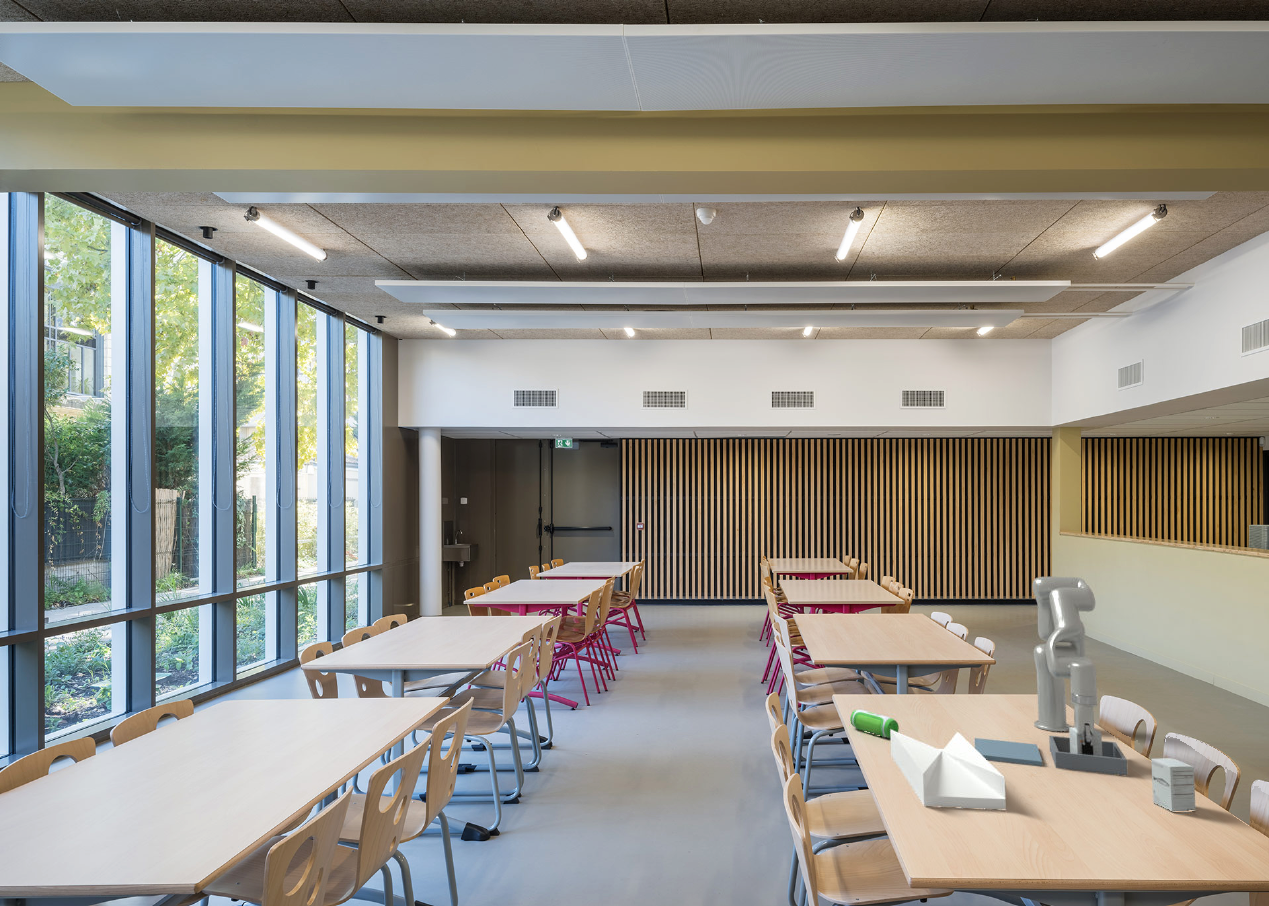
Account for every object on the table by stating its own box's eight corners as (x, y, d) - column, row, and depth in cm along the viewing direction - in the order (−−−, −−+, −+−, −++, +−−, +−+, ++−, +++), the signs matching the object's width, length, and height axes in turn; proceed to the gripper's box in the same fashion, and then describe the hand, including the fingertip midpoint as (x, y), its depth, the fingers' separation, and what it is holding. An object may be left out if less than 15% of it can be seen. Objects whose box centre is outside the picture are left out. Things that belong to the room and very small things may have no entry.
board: (974, 742, 280) (974, 737, 280) (1036, 748, 273) (1036, 744, 273) (975, 758, 262) (975, 754, 262) (1042, 766, 254) (1042, 761, 254)
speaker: (900, 738, 286) (899, 717, 286) (887, 741, 282) (886, 720, 282) (862, 726, 301) (862, 707, 301) (849, 729, 297) (849, 709, 297)
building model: (891, 757, 265) (890, 729, 265) (958, 760, 262) (957, 731, 263) (924, 808, 220) (923, 773, 221) (1005, 811, 217) (1004, 777, 218)
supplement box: (1152, 803, 223) (1150, 758, 223) (1176, 802, 223) (1174, 757, 224) (1171, 813, 215) (1169, 766, 216) (1196, 812, 216) (1194, 765, 217)
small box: (1094, 759, 261) (1093, 727, 261) (1103, 764, 255) (1102, 732, 256) (1069, 758, 261) (1068, 726, 262) (1077, 764, 256) (1076, 731, 257)
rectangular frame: (1049, 750, 271) (1049, 735, 271) (1116, 757, 263) (1115, 742, 264) (1056, 767, 253) (1055, 752, 253) (1127, 776, 245) (1127, 759, 245)
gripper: (1068, 692, 269) (1069, 744, 268) (1074, 704, 253) (1076, 760, 252) (1092, 694, 266) (1094, 747, 265) (1101, 706, 250) (1103, 763, 249)
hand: (1086, 753), depth 258 cm, fingers closed on small box, 6 cm apart
